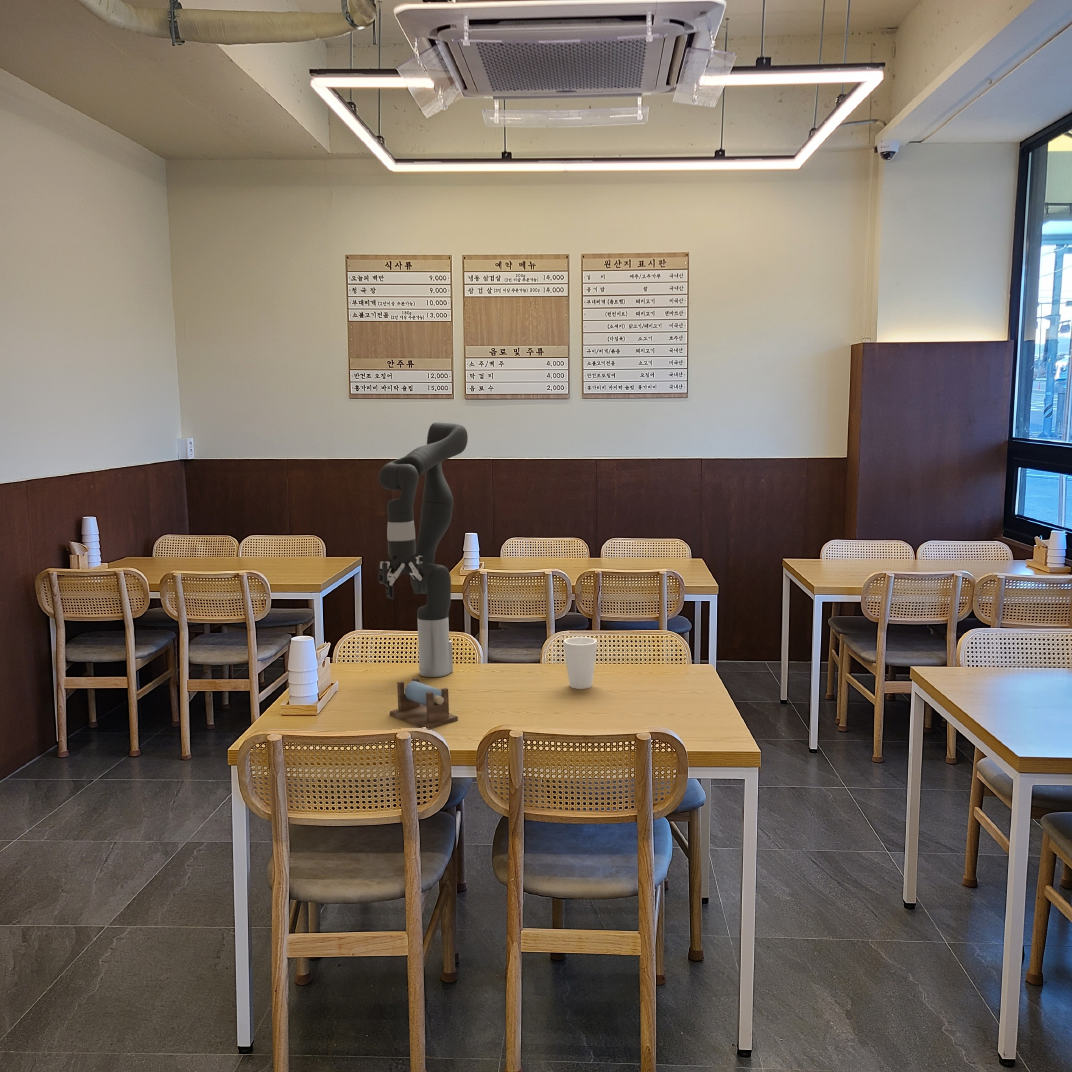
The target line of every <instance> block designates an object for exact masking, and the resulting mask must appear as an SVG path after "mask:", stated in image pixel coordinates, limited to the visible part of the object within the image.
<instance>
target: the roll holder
mask: <svg viewBox="0 0 1072 1072" xmlns="http://www.w3.org/2000/svg"><path fill="white" fill-rule="evenodd" d="M411 680H412V681H416V682H419V683H420V678H418V677H413V678H412V679H411ZM412 681H411V682H412ZM396 683H397V685H396V687H397V706H398V707H397V709H392V710H390V711H389V716H392V717H394V718H396V719H399V720H401V721H403V722H406V723H409V724H411V725H413V724H414V725H413V726H416V727H418V726H419V727H418V728H420V727H426V728H430V729H433V728H436V727H441V726H443V725H447V724H450V723H453V722H456V721H459V716H458V715H456V714H452V713H450V708H449V707H450V706H449V705H450V703H449V702H450V701H449V688H448V687H443V688H441V689H440V690H441V697H443V698H444V702H443V704H441V705H439V704H433V693H432V692H427V693H426V706H425V705H422V704H419V703H417V702H414V701H411V700H409V699H407V698H406V696H405V682H404V681H397V682H396Z"/></svg>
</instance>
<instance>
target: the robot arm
mask: <svg viewBox="0 0 1072 1072" xmlns="http://www.w3.org/2000/svg"><path fill="white" fill-rule="evenodd" d="M426 437H427V438H426V444H424V445H422V446H419V447H416V448H415V449H413V450H411V451H410V452H409V453H407V454H406V455H405V456H403V457H400V458H397V459H395V460H392V461H389V462H387V463H386V464H384V465H383V466H382V467H381V469H380V471H379V473H378V482H379V484H380V486H381V487H382V488H383V489H384V490H388V491H401V493H400V495H399V497H398V498H393V499H390V500H388V501H387V505H386V512H387V513H386V516H387V527H386V528H387V529H386V532H387V533H386V535H387V555H388V561H379V562H378V583H379V584H383V585H385V596H386V597H387V599H388V600H389V599H390V600H394V599H395V588H394V587H395V586H394V585H393V584H394V583H395V581H396V580H397V579H398V578H399V576H404V575H410V584H411V585H410V586H411V587H412V589H413V593H414V595H420V594H423V595H426V604H425V605H421V606H419V607H418V608H417V612H416V614H417V616H416V617H417V620H416V621H417V640H418V643H417V645H418V670H419V671H418V672H419V676H422V677H426V678H441V677H445V676H448V675H450V673H453V671H454V663H453V659H454V658H453V641H452V640H451V639H450V630H449V629H450V627H449V626H450V625H449V612H450V609H451V603H452V600H451V599H452V598H451V597H452V579H451V578H452V577H451V573H450V571H449V569H448V567H447V566H444V565H443V564H442V565H441V564H438V563H437V564H436V563H435V557H436V551H437V548H438V545H439V543H440V541H441V539H442V538H443V537H444V535H445V533H446V532H447V530H448V528H449V527H450V525H451V521H452V519H453V518H452V516H453V508H454V497H453V494H452V491H451V488H450V486H449V484H448V481H447V480H446V478H445V475H444V473H443V472H444V471H443V466H442V464H443V462H444V461H447V460H448V459H451V458H452V457H455V456H458V455H460V454H462V453H463V452H464V451H465V450H466V448H467V445H468V431H467V428H466V427H465V426H464V425H463V424H460V423H453V422H452V423H450V422H433V423H432V424H431V425H430V426H429V428H428V432H427V436H426ZM423 475H424V477H425V478H424V487H423V494H422V501H421V508H420V509H421V510H420V519H419V528H418V536H417V540H416V528H415V516H414V504H415V500H416V499H415V498H416V493H417V490H418V489H417V488H418V485H419V478H420V477H422V476H423ZM388 570H389V571H388Z"/></svg>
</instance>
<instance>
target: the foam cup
mask: <svg viewBox="0 0 1072 1072" xmlns="http://www.w3.org/2000/svg"><path fill="white" fill-rule="evenodd" d="M563 650H564V656H565V657H564V658H565V663H566V670H567V676H568V684H569V686H570V688H573V689H578V690H585V689H590V688H591V687H592V686H593V681H594V673H595V662H596V657H597V650H598V640H597V639H596V638H593V637H587V636H575V637H568V638H565V639H564V640H563Z"/></svg>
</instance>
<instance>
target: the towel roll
mask: <svg viewBox="0 0 1072 1072" xmlns="http://www.w3.org/2000/svg"><path fill="white" fill-rule="evenodd" d="M427 692H432V693H433V704H439V705H441V704H443V702H444V698H443V697H441V689H439V688H437V687H433V686H431V685H427V684H425V683H422V682H420V681H419V682H416V681H410V682H409V683H408V684H406V685H405V686H404V694H405V696H406V698H407V699H409V700H411V701H414V702H417V703H419V704H422V705H425V706H426V693H427Z"/></svg>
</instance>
